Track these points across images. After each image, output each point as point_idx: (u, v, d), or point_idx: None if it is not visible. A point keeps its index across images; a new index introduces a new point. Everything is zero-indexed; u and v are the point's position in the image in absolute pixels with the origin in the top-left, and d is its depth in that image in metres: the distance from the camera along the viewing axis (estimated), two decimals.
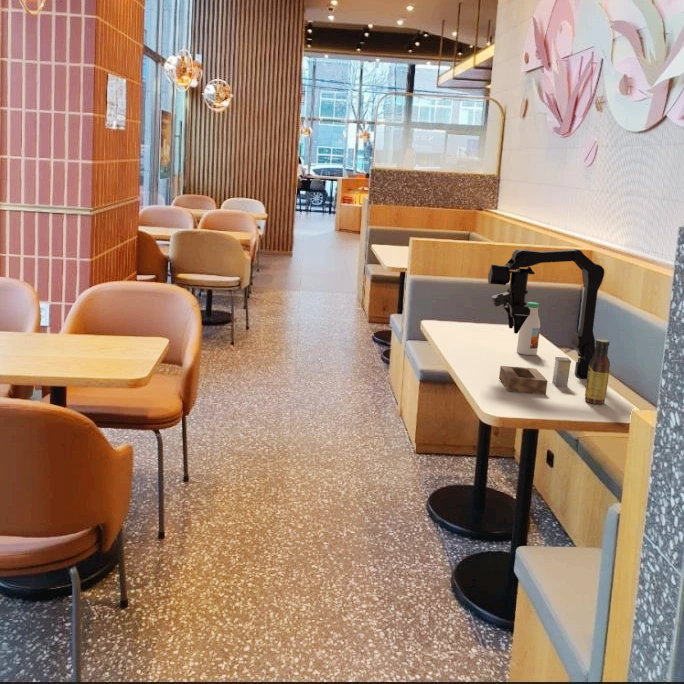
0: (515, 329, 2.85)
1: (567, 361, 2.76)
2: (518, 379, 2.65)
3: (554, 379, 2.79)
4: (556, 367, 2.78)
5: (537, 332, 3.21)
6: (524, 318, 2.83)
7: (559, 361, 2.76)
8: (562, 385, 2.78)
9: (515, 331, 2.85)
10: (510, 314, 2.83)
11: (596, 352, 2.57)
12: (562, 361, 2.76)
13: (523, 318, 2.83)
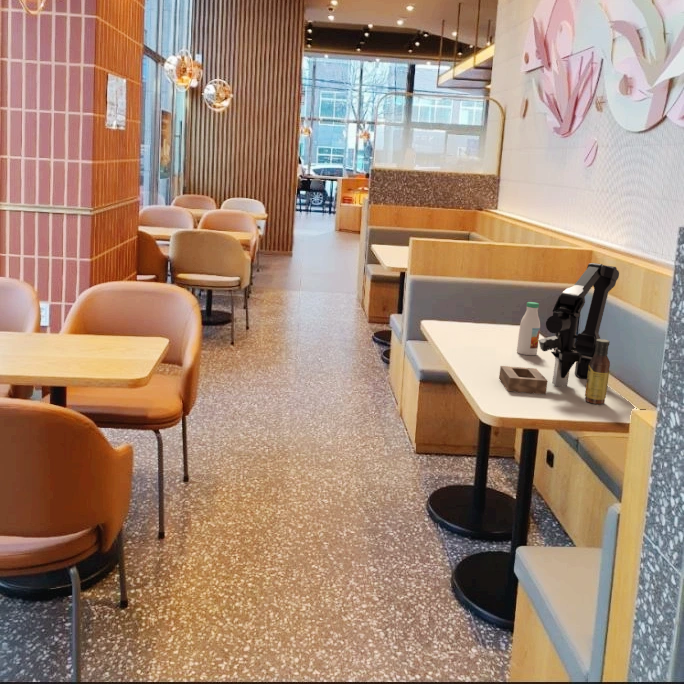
0: (563, 373, 2.76)
1: None
2: (518, 379, 2.65)
3: (554, 379, 2.79)
4: (556, 367, 2.78)
5: (537, 332, 3.21)
6: (572, 362, 2.74)
7: (559, 361, 2.76)
8: (562, 385, 2.78)
9: (562, 375, 2.76)
10: None
11: (596, 352, 2.57)
12: None
13: (571, 362, 2.74)
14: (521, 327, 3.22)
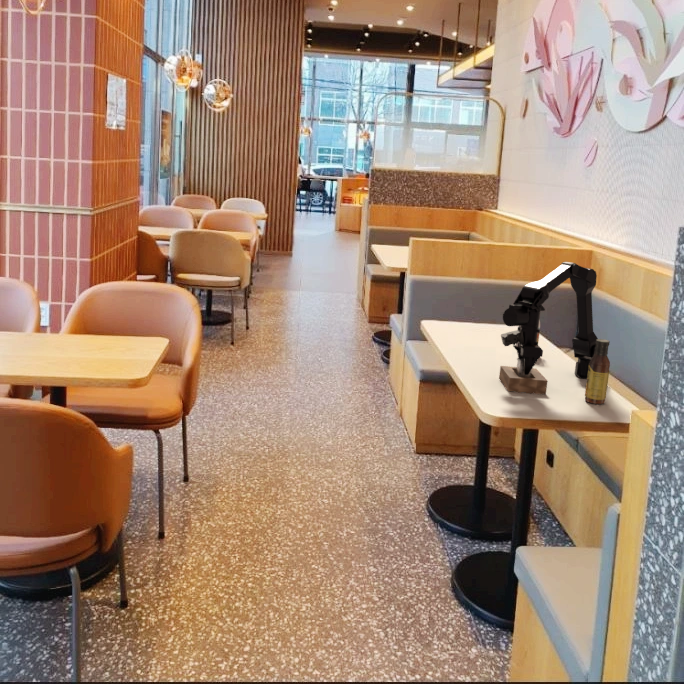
0: (526, 370, 2.68)
1: None
2: (518, 379, 2.65)
3: None
4: (518, 368, 2.72)
5: None
6: (535, 359, 2.66)
7: (521, 362, 2.70)
8: None
9: (526, 372, 2.68)
10: (521, 354, 2.65)
11: (596, 352, 2.57)
12: None
13: (534, 359, 2.66)
14: None
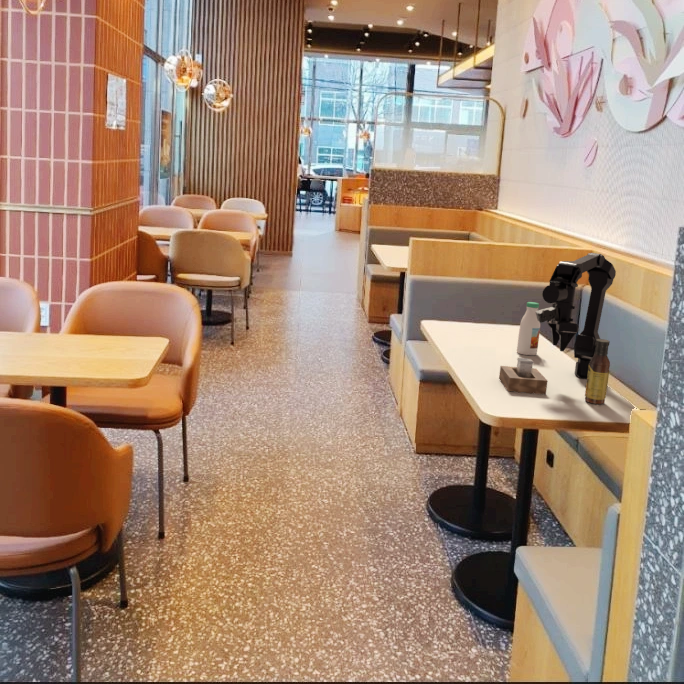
0: (562, 347, 2.69)
1: (529, 362, 2.70)
2: (518, 379, 2.65)
3: None
4: (518, 368, 2.72)
5: (537, 332, 3.21)
6: (571, 335, 2.67)
7: (521, 362, 2.70)
8: None
9: (561, 349, 2.69)
10: (556, 331, 2.66)
11: (596, 352, 2.57)
12: (524, 362, 2.70)
13: (570, 335, 2.67)
14: (521, 327, 3.22)
